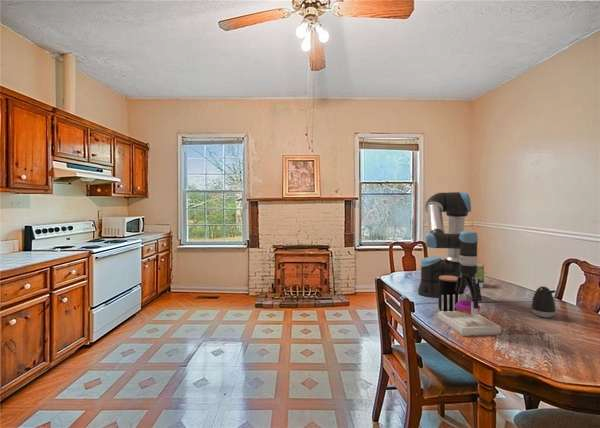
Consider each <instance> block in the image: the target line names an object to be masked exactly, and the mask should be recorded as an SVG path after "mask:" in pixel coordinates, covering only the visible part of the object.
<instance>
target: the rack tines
mask: <svg viewBox="0 0 600 428" xmlns="http://www.w3.org/2000/svg"><path fill="white" fill-rule="evenodd" d="M464 300H467V294H466V293H465V294H464ZM447 311H449V295H447ZM453 311H455V295H453ZM440 312H444V295H442V305H441V311H440Z"/></svg>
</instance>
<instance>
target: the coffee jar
mask: <svg viewBox="0 0 600 428" xmlns="http://www.w3.org/2000/svg"><path fill="white" fill-rule="evenodd" d="M457 278H458V277H456V276H448V275H444V276H439V279H440V280H439V297H438V309H439V311H440V310H441V305H442V295H444V311H447V295H449V311H453V295H455V304H456V303H457V302H458V293H457V292H456V291H455V289H456V283H457ZM458 289H459V288H458ZM455 311H457V310H456V308H455Z"/></svg>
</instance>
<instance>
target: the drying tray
mask: <svg viewBox="0 0 600 428" xmlns="http://www.w3.org/2000/svg"><path fill="white" fill-rule="evenodd" d="M437 319H438V320H439V319H440V320H441V322H442V321H443V322H444V323H443V322H442V323H443V324H445V325H446V324H447V325H448V326H447V325H446V326H447V327H448V328H450V327H451V329H452V330H453V331H454V330H455V331H454V332H456V333H457V332H458V333H457V334H459V335H460V336H461V335H462V337H465V336H467V337H470V336H471V335H474V336H495V335H502V326H501V325H499V324H497V323H495V322H493V321H492V320H490V319H488V318H486V317H484V316H483V315H481V314H479V313H478V315H469V314H466V313H462V312H458V311H444V312H441V311H437ZM440 320H439V321H440Z"/></svg>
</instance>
